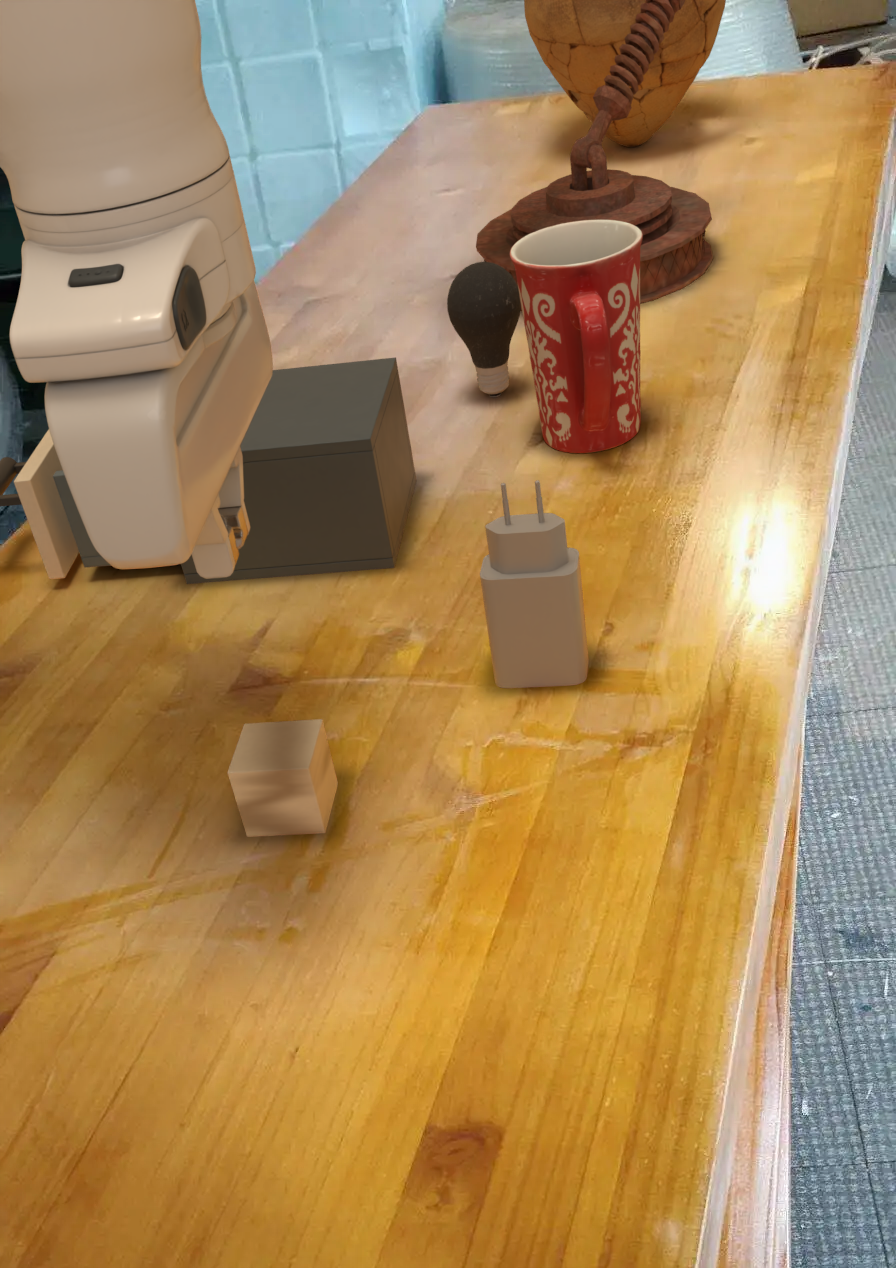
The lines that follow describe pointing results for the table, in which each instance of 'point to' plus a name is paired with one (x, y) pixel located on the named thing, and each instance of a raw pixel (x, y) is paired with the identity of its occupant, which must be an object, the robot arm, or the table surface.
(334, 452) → the cabinet
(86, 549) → the drawer
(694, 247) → the desk lamp
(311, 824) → the block
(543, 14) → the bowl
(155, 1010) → the table surface
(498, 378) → the light bulb
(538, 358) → the mug
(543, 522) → the power adapter
